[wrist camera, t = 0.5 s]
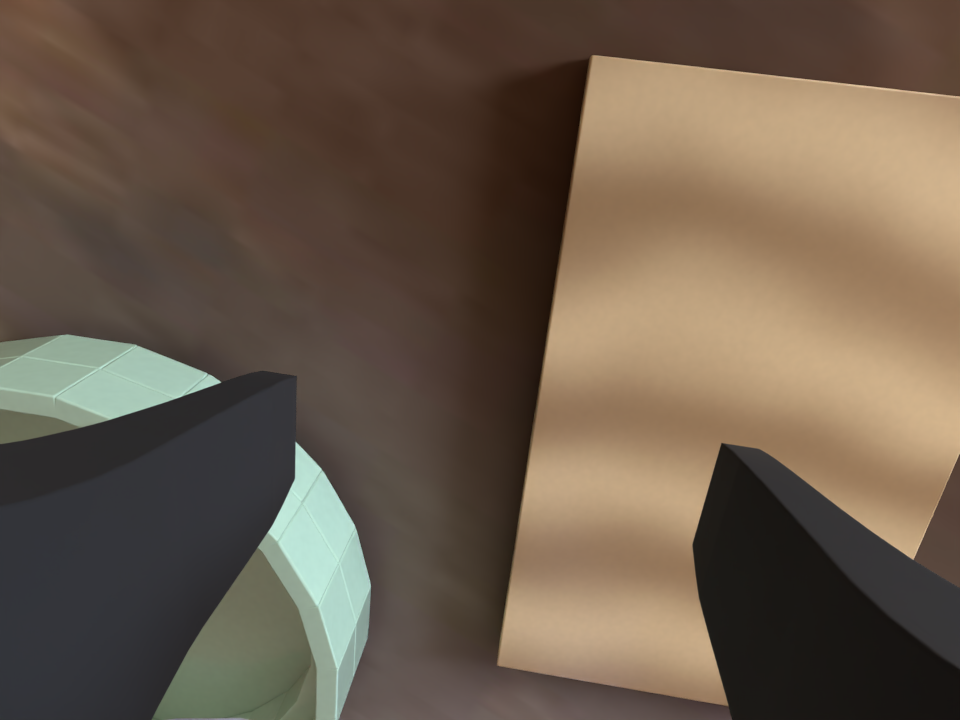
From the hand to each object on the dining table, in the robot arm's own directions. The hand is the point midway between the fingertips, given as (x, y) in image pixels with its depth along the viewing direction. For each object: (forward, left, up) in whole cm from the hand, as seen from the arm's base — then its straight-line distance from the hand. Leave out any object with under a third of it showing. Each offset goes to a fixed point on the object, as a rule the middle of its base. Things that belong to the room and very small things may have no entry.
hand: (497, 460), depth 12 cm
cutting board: (-3, -7, -10) cm, 12 cm away
